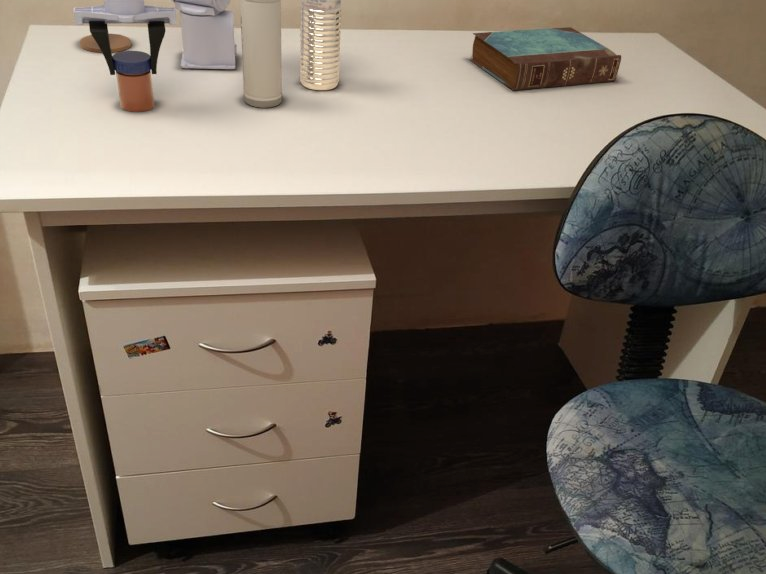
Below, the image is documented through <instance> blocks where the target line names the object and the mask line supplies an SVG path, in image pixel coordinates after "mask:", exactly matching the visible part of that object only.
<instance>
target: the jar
mask: <svg viewBox="0 0 766 574" xmlns="http://www.w3.org/2000/svg"><path fill="white" fill-rule="evenodd" d="M115 75H116V82H117V90H118V96H119V104H120V108H121V109H122V110H124V111H127V112H131V113H142V112H148V111H151V110H152V109H154V108H155V97H154V89H153V81H152V71H151V70H150V71H148V72H146V73H142V74H124V73H120V72H117V71H115Z"/></svg>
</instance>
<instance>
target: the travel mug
mask: <svg viewBox="0 0 766 574" xmlns="http://www.w3.org/2000/svg"><path fill="white" fill-rule="evenodd" d="M239 12H240V37H241V38H240V39H241V61H242V62H241V63H242V82H243V86H242V87H243V100H244V102H245V103H246V104H247V105H249V106H251V107H254V108H262V109H267V108H268V109H269V108H274V107H277V106H279V105H281V103H282V102H283V92H282V91H283V78H282V76H283V75H282V74H283V73H282V72H283V71H282V69H283V68H282V66H283V65H282V0H239Z"/></svg>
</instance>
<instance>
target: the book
mask: <svg viewBox="0 0 766 574" xmlns="http://www.w3.org/2000/svg"><path fill="white" fill-rule="evenodd" d="M472 34H473V35H474V39H473V43H472V54H471V55H472V56H471V57H472V58H469V61H470V62H471V63H473V64H475V65H476V66H477V67H479V68H480V69H482V70H483V71H485V72H486V73H487V74H489V75H490V76H491V77H493V78H494V79H496V80H497V81H499V82H500V83H502V84H503V85H504V86H506V87H508V88H509V89H510V90H512V91H523V90H534V89H535V90H537V89H546V88H556V87H567V86H578V85H590V84H599V83H600V84H601V83H610V82H615V81H616V79H617V76H618V72H619V69H620V65H621V61H622V55H621V54H616V53H615V52H614V51H613V50H612V49H611V48H608V47H607V46H605V45H603V44H601V43H600V42H598V41H596V40H594V39H593V38H592V37H589V36H587V35H585V34H584V33H582V32H580V31H578V30H576V29H574V28H573V27H568V26H567V27H552V28H534V29H520V30H519V29H518V30H503V31H502V30H501V31H487V32H486V31H485V32H472Z"/></svg>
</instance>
